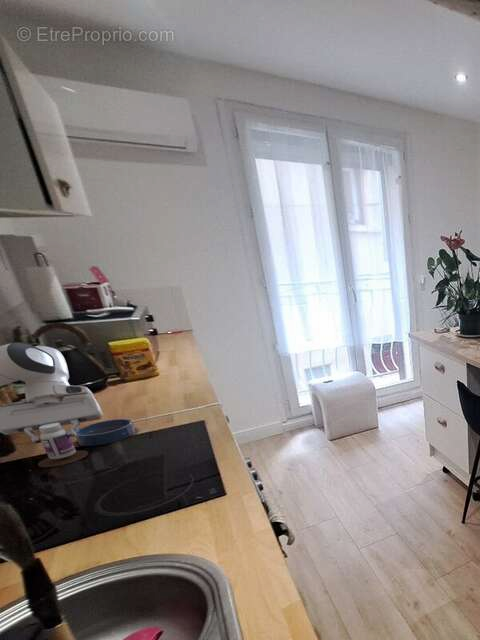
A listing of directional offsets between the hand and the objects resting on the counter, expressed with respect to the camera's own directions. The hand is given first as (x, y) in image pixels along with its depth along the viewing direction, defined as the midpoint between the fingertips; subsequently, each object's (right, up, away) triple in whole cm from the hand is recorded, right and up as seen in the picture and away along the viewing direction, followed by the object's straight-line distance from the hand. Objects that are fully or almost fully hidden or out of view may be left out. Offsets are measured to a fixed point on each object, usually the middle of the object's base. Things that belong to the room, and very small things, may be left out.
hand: (54, 439), depth 116 cm
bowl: (-2, -1, +17) cm, 17 cm away
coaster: (0, -6, +3) cm, 7 cm away
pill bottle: (0, -5, +2) cm, 6 cm away
